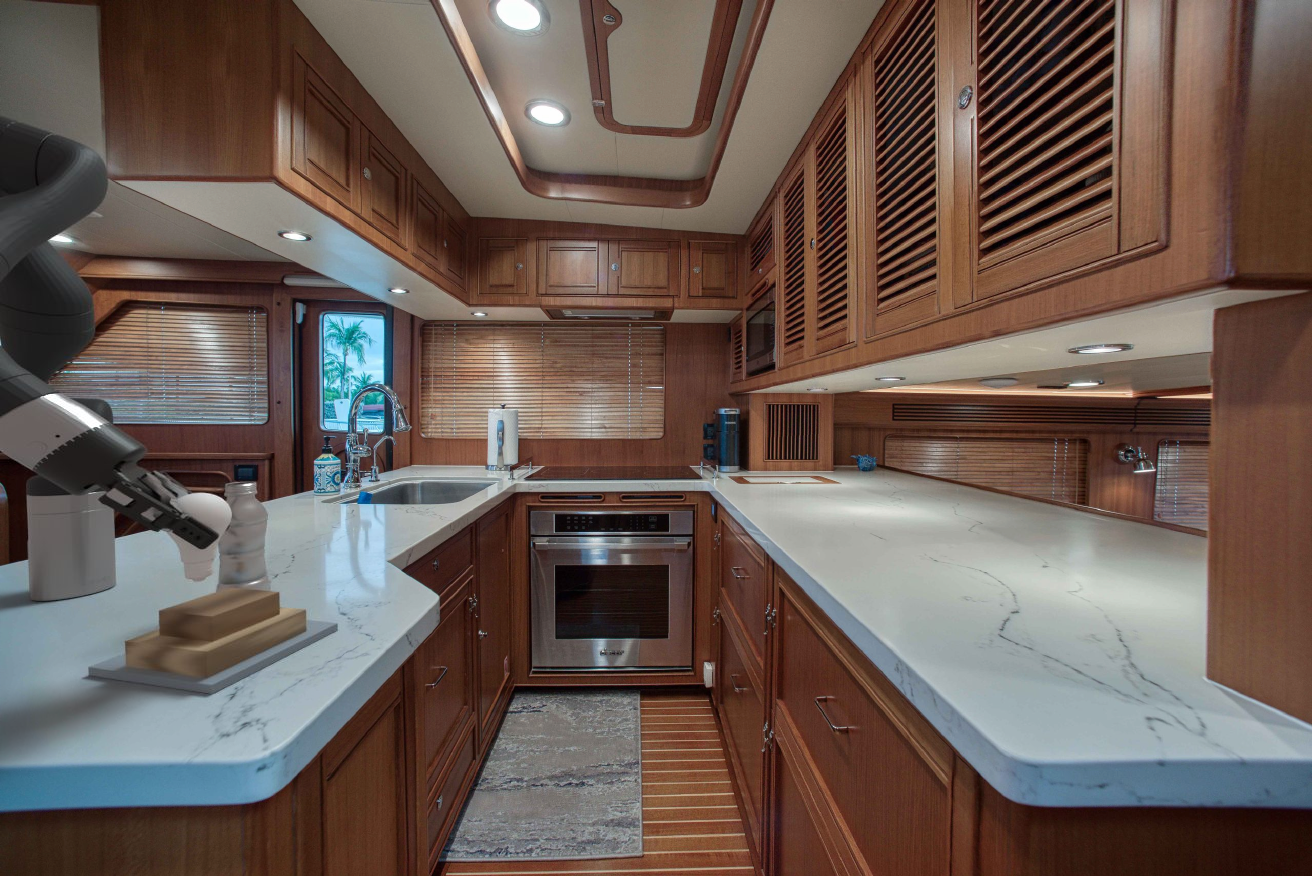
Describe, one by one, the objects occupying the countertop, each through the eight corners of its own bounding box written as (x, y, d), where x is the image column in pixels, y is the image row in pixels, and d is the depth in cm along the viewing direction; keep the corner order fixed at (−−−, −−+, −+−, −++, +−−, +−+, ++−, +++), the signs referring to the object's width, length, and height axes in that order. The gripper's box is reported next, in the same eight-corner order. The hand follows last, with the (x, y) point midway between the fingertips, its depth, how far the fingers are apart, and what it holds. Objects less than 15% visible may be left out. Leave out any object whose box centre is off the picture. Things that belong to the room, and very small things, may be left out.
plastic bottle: (281, 601, 77) (279, 480, 76) (241, 619, 70) (238, 486, 69) (246, 600, 77) (243, 480, 77) (202, 617, 71) (199, 485, 70)
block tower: (125, 666, 55) (124, 615, 54) (235, 623, 66) (234, 581, 66) (207, 678, 52) (206, 625, 52) (306, 631, 64) (305, 588, 64)
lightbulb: (225, 570, 62) (224, 487, 62) (238, 579, 58) (237, 492, 58) (159, 582, 57) (157, 493, 57) (168, 594, 54) (166, 498, 53)
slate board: (88, 675, 54) (88, 667, 54) (235, 618, 70) (235, 612, 70) (212, 694, 51) (211, 685, 51) (337, 630, 67) (337, 623, 67)
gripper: (76, 421, 47) (235, 525, 54) (129, 420, 59) (254, 506, 66) (-8, 476, 44) (171, 578, 51) (66, 463, 56) (203, 548, 63)
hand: (217, 537), depth 59 cm, fingers closed on lightbulb, 5 cm apart
